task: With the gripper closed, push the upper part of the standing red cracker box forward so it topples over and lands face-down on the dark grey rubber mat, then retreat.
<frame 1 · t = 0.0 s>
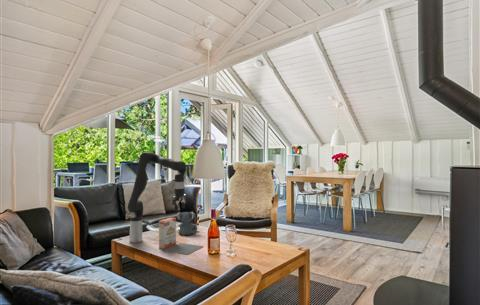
hand: (179, 209, 230), 29 cm above the table, fingers open, 8 cm apart
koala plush: (186, 233, 273), on the table
cracker box: (168, 246, 235), on the table
mat: (183, 248, 228), on the table
beech turner: (169, 241, 247), on the table
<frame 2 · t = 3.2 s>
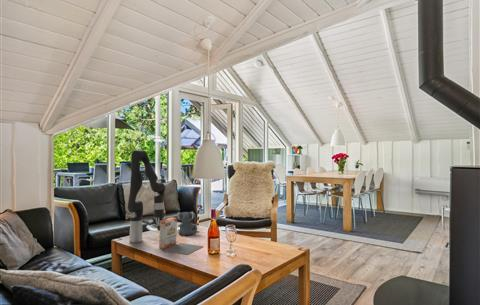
hand: (159, 230, 239), 11 cm above the table, fingers closed
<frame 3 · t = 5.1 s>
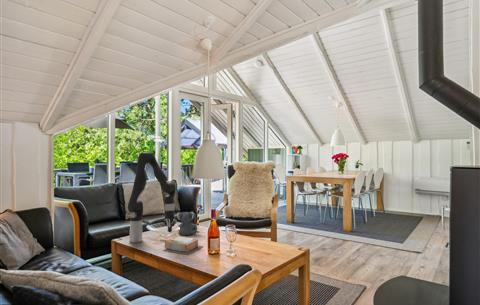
hand: (170, 231, 234), 11 cm above the table, fingers closed
cracker box: (170, 242, 234), point 3 cm above the table, touching mat
everything else where it was.
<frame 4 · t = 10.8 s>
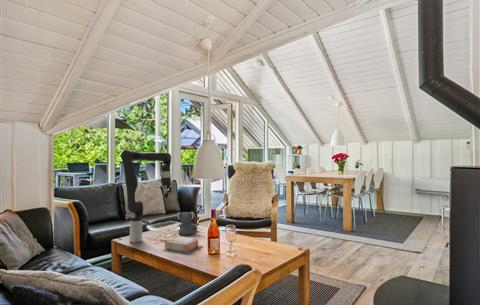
hand: (166, 197, 251), 35 cm above the table, fingers closed
nothing on the table moved.
at the end: cracker box tilted 89°; cracker box inside the target area (10.6 cm from its centre), point 3.2 cm above the table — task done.
